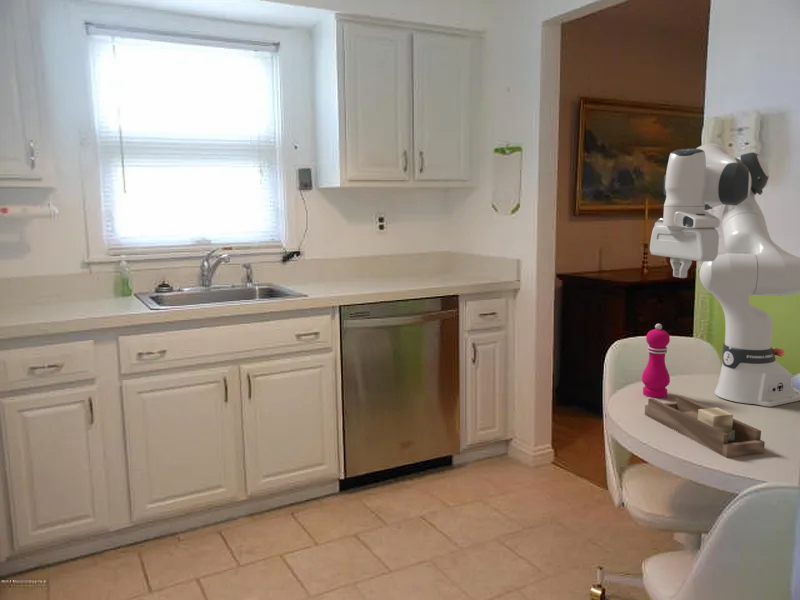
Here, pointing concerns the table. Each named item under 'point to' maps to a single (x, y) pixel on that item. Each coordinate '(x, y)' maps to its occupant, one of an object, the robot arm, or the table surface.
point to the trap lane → (706, 428)
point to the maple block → (716, 418)
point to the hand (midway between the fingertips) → (679, 277)
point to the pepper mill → (656, 364)
